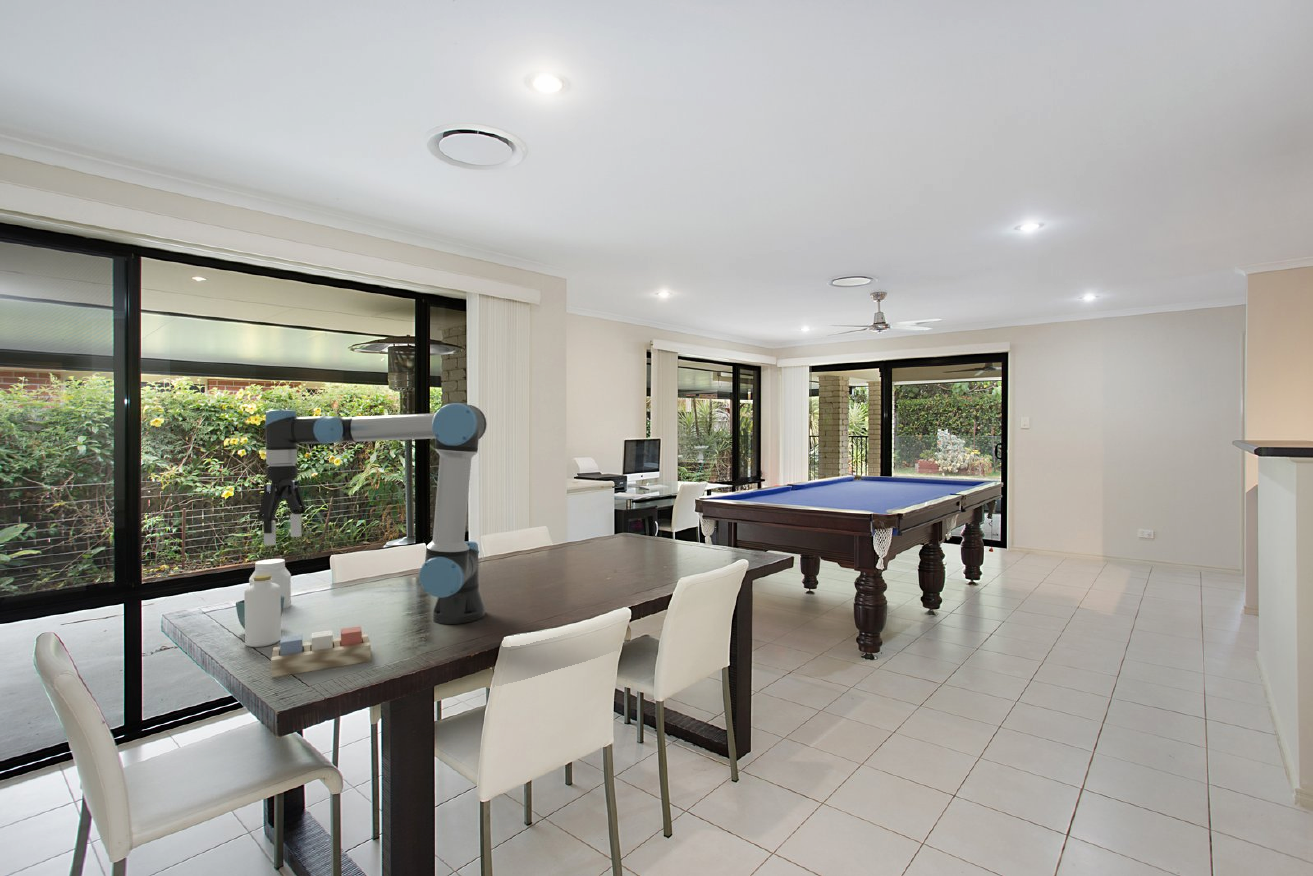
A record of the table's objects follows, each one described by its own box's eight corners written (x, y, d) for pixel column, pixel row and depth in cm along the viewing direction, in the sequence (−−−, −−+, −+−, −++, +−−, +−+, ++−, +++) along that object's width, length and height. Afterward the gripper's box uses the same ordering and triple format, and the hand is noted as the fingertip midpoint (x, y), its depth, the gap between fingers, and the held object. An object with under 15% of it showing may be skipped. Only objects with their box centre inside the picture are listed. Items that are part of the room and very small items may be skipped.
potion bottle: (255, 638, 174) (254, 573, 174) (287, 637, 175) (286, 572, 174) (238, 649, 166) (237, 580, 165) (271, 647, 166) (270, 579, 166)
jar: (284, 601, 212) (284, 556, 212) (295, 606, 206) (295, 560, 206) (245, 608, 204) (244, 562, 203) (255, 614, 197) (254, 566, 197)
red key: (360, 645, 162) (360, 626, 162) (361, 651, 158) (361, 631, 158) (341, 648, 159) (340, 629, 159) (341, 654, 156) (341, 633, 155)
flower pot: (261, 636, 176) (261, 604, 176) (234, 634, 178) (234, 602, 178) (285, 626, 185) (285, 595, 185) (260, 624, 187) (259, 594, 186)
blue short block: (302, 654, 155) (302, 634, 155) (302, 660, 151) (302, 639, 151) (281, 657, 153) (281, 637, 153) (280, 663, 149) (280, 642, 149)
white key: (332, 650, 159) (332, 630, 159) (332, 655, 155) (332, 635, 155) (311, 653, 156) (311, 633, 156) (311, 658, 152) (311, 638, 152)
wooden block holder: (367, 649, 165) (367, 633, 165) (370, 661, 156) (370, 645, 156) (273, 663, 155) (273, 647, 155) (271, 677, 146) (271, 660, 146)
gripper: (291, 463, 189) (293, 533, 190) (241, 467, 164) (243, 549, 165) (317, 462, 190) (318, 533, 190) (270, 467, 165) (272, 548, 165)
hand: (283, 540), depth 177 cm, fingers open, 13 cm apart
